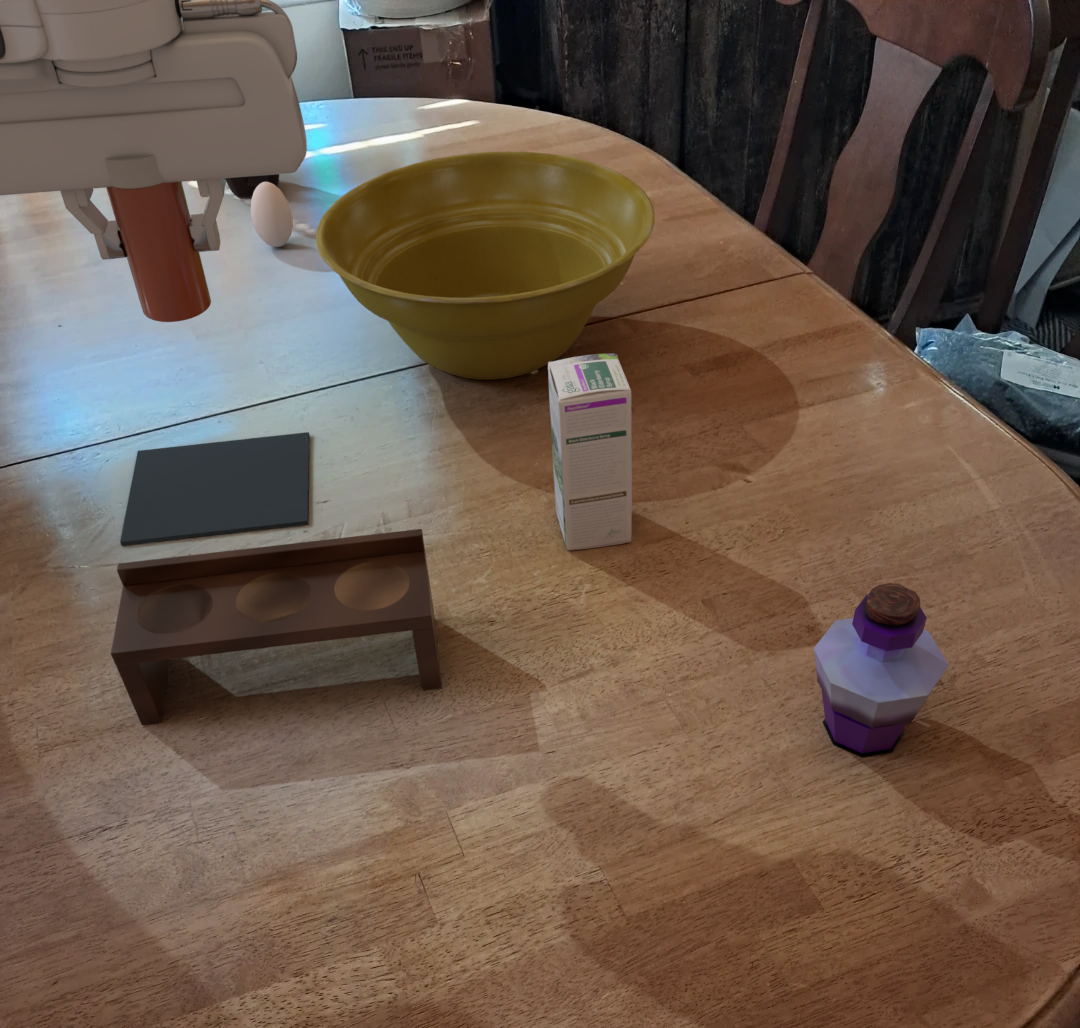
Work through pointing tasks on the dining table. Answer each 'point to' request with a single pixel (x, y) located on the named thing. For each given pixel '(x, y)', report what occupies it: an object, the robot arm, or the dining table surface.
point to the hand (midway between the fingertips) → (161, 251)
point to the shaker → (157, 240)
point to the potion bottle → (877, 671)
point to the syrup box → (591, 450)
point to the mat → (218, 488)
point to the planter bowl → (487, 254)
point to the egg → (271, 214)
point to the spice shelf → (270, 605)
